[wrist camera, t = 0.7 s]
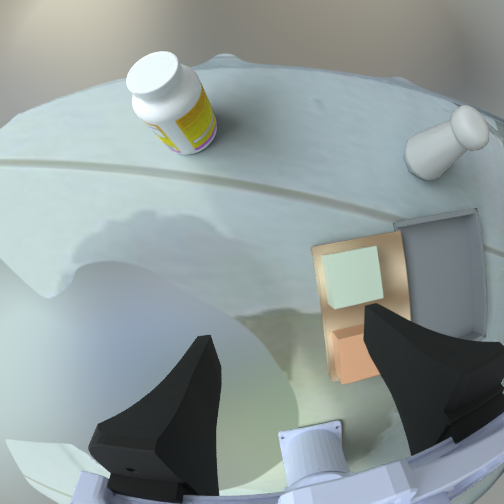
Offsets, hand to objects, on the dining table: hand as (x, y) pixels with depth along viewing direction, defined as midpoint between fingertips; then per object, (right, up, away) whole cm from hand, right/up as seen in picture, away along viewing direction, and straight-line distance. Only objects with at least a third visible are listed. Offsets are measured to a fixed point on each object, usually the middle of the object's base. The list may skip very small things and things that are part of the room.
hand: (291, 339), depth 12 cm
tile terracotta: (+9, -6, +15) cm, 19 cm away
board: (+11, -2, +17) cm, 20 cm away
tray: (+22, 0, +16) cm, 27 cm away
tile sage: (+8, +2, +15) cm, 17 cm away
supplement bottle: (-9, +18, +18) cm, 28 cm away
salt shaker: (+19, +15, +17) cm, 30 cm away
